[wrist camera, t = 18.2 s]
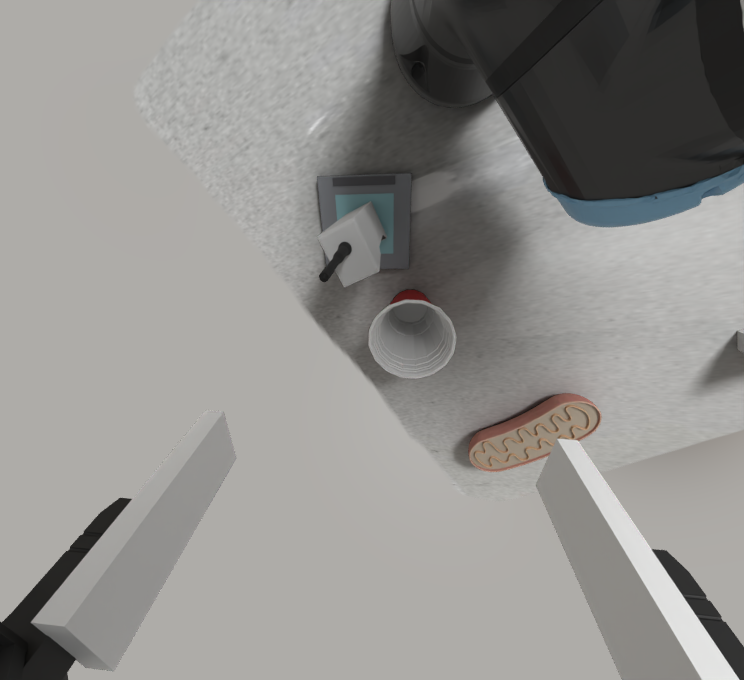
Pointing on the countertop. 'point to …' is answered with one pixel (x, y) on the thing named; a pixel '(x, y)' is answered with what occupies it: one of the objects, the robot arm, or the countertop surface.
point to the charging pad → (388, 201)
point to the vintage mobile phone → (353, 245)
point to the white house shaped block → (740, 340)
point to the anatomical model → (534, 433)
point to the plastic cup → (412, 336)
